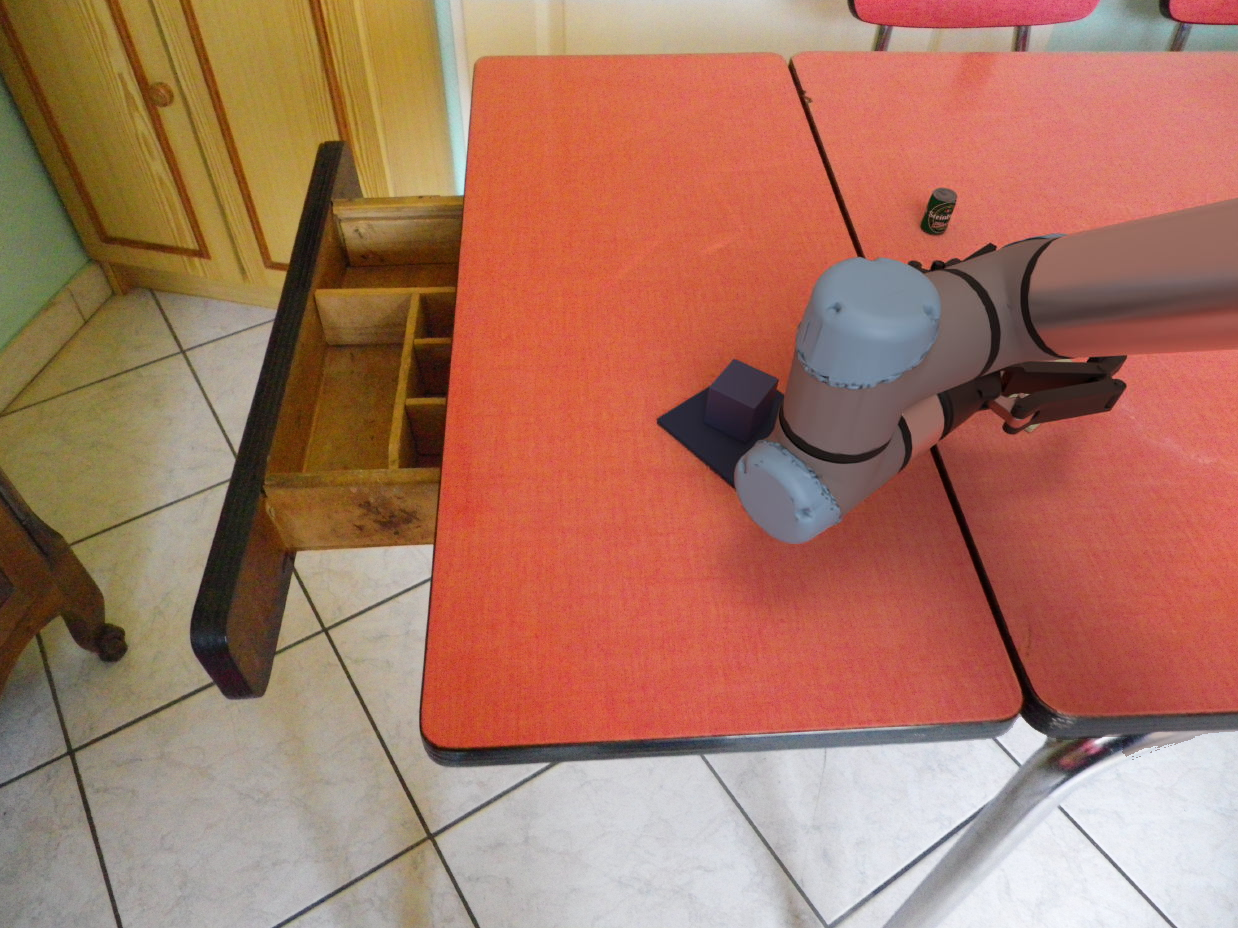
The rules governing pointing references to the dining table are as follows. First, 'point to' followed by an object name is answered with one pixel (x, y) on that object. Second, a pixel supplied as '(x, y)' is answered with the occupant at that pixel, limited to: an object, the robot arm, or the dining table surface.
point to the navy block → (740, 400)
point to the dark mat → (713, 434)
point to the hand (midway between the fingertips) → (1055, 294)
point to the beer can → (939, 211)
